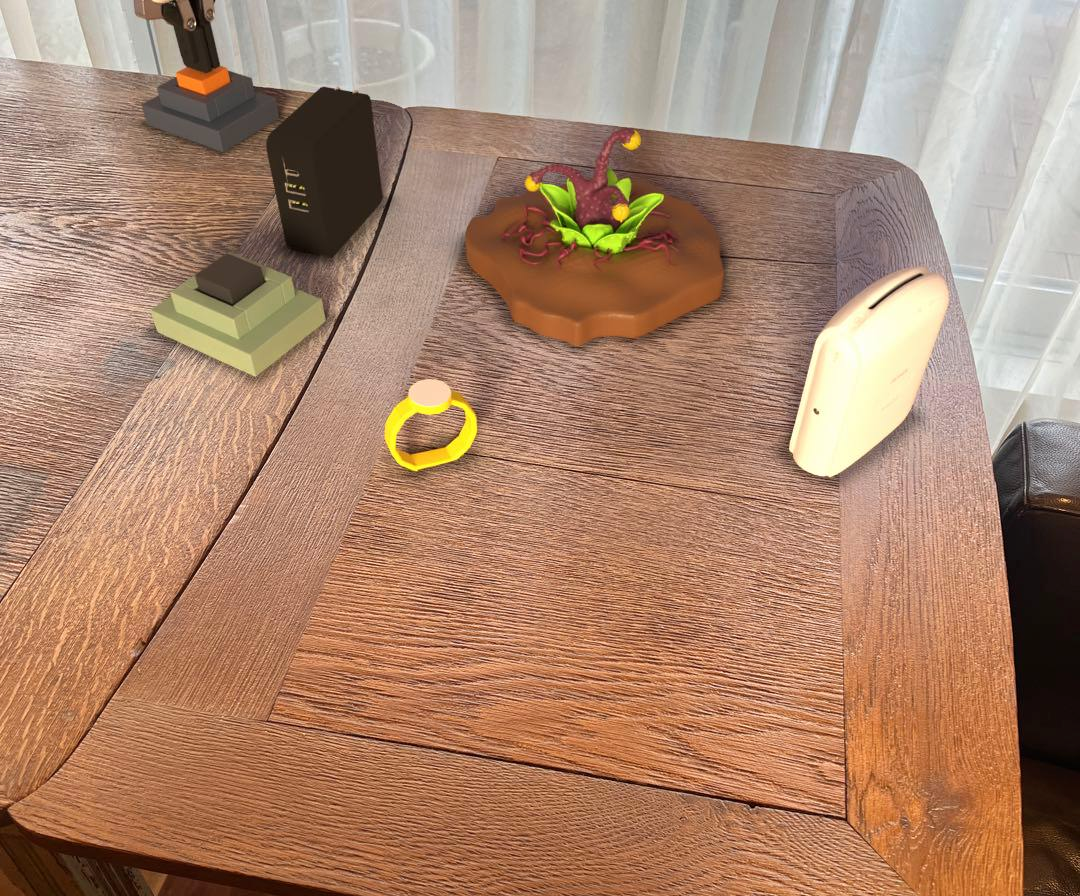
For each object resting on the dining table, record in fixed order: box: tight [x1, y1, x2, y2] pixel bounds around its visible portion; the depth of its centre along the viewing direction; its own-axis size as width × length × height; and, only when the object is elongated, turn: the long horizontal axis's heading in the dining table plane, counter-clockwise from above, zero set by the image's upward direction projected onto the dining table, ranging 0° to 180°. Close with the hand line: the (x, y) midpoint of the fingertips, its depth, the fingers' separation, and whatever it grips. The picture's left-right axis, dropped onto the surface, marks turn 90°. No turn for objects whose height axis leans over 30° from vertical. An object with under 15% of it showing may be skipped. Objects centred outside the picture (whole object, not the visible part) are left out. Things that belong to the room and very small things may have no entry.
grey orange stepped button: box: [141, 70, 280, 153], centre depth 99 cm, size 10×8×4 cm
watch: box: [384, 378, 478, 472], centre depth 67 cm, size 6×3×6 cm, turn 113°
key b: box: [175, 65, 230, 96], centre depth 98 cm, size 3×3×2 cm
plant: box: [464, 127, 725, 347], centre depth 81 cm, size 20×20×11 cm
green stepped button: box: [149, 251, 327, 378], centre depth 78 cm, size 10×8×4 cm
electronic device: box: [265, 86, 383, 258], centre depth 85 cm, size 4×10×10 cm, turn 160°
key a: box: [194, 252, 264, 306], centre depth 76 cm, size 3×3×2 cm
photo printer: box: [788, 265, 950, 478], centre depth 67 cm, size 10×4×12 cm, turn 133°
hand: (202, 66), depth 97 cm, fingers closed
